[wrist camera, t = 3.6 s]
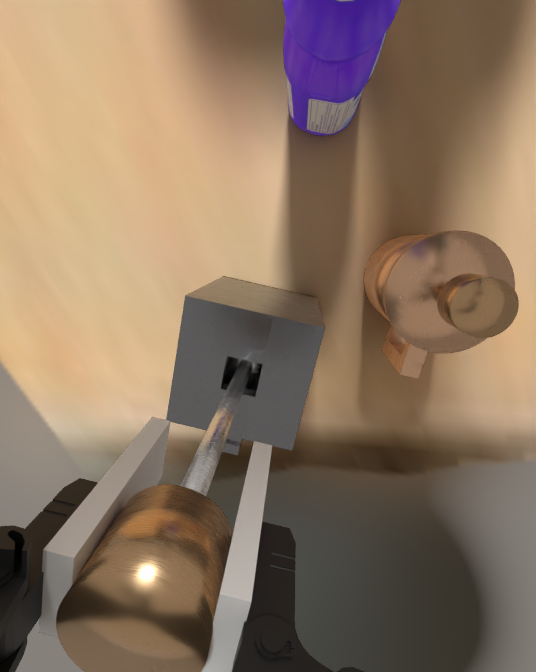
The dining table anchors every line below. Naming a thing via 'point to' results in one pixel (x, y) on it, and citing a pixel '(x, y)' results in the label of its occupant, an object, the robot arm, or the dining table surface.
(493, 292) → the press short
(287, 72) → the bottle
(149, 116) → the dining table surface
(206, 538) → the plunger tall
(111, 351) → the dining table surface
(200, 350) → the cube with square hole
